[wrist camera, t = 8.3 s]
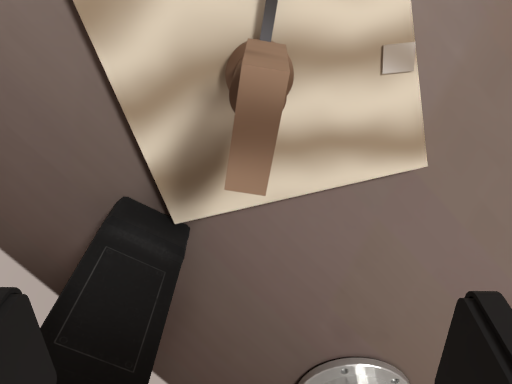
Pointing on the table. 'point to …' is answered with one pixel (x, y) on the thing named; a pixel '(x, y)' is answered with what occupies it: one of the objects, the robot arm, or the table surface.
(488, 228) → the table surface
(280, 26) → the dial board
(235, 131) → the tuning peg
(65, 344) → the portable radio
